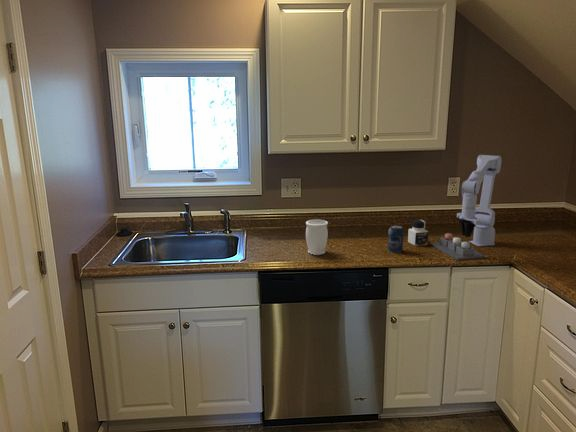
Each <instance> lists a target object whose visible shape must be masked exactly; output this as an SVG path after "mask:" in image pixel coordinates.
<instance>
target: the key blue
mask: <svg viewBox="0 0 576 432" xmlns="http://www.w3.org/2000/svg"><path fill="white" fill-rule="evenodd" d="M461 242H462V243H461V248H462V249H469V248H470V247H471V243H470V242H469V241H461Z"/></svg>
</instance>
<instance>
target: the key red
mask: <svg viewBox="0 0 576 432" xmlns="http://www.w3.org/2000/svg"><path fill="white" fill-rule="evenodd" d="M453 235H454V234H453V233H450V232H449V233H448V232H447V233H444V237H445V240H452V238H454V237H453Z"/></svg>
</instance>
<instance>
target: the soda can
mask: <svg viewBox="0 0 576 432" xmlns="http://www.w3.org/2000/svg"><path fill="white" fill-rule="evenodd" d="M387 236H388V237H387V250H388V251H389V252H390V253H393V254H398V253H401V252H402V251H403V246H404V228H403V226H401V225H395V224H394V225H390V226H389V228H388V234H387Z"/></svg>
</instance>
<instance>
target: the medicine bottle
mask: <svg viewBox="0 0 576 432" xmlns="http://www.w3.org/2000/svg"><path fill="white" fill-rule="evenodd" d="M407 235H408V236H407V243H409V244H411V245H412V246H414V247H420V246H427V245H428V244H429V243H428V242H429V231H428V230H426V220H423V219H414V220H413V221H412V228H408V233H407Z"/></svg>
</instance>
